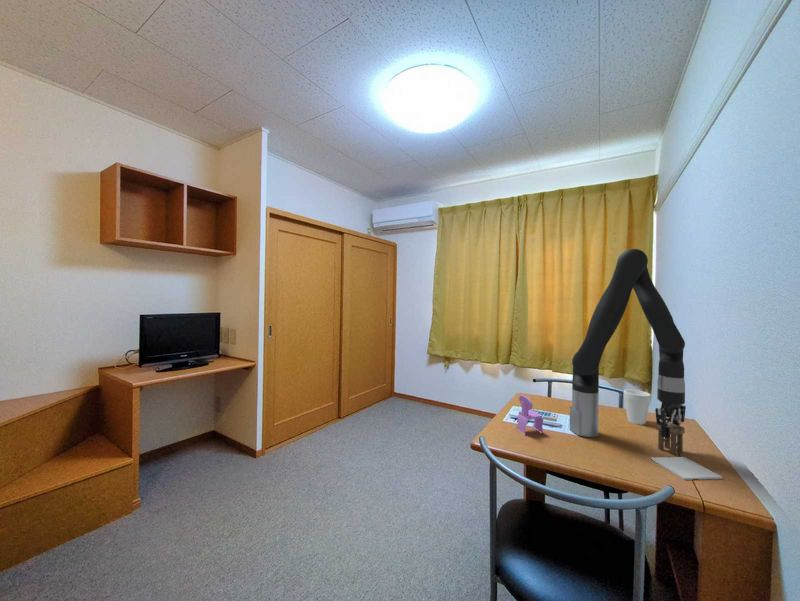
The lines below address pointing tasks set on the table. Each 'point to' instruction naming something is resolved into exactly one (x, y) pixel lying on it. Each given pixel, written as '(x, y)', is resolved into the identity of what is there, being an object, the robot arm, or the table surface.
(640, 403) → the foam cup
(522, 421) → the toy chair
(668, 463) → the mat
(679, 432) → the stool
